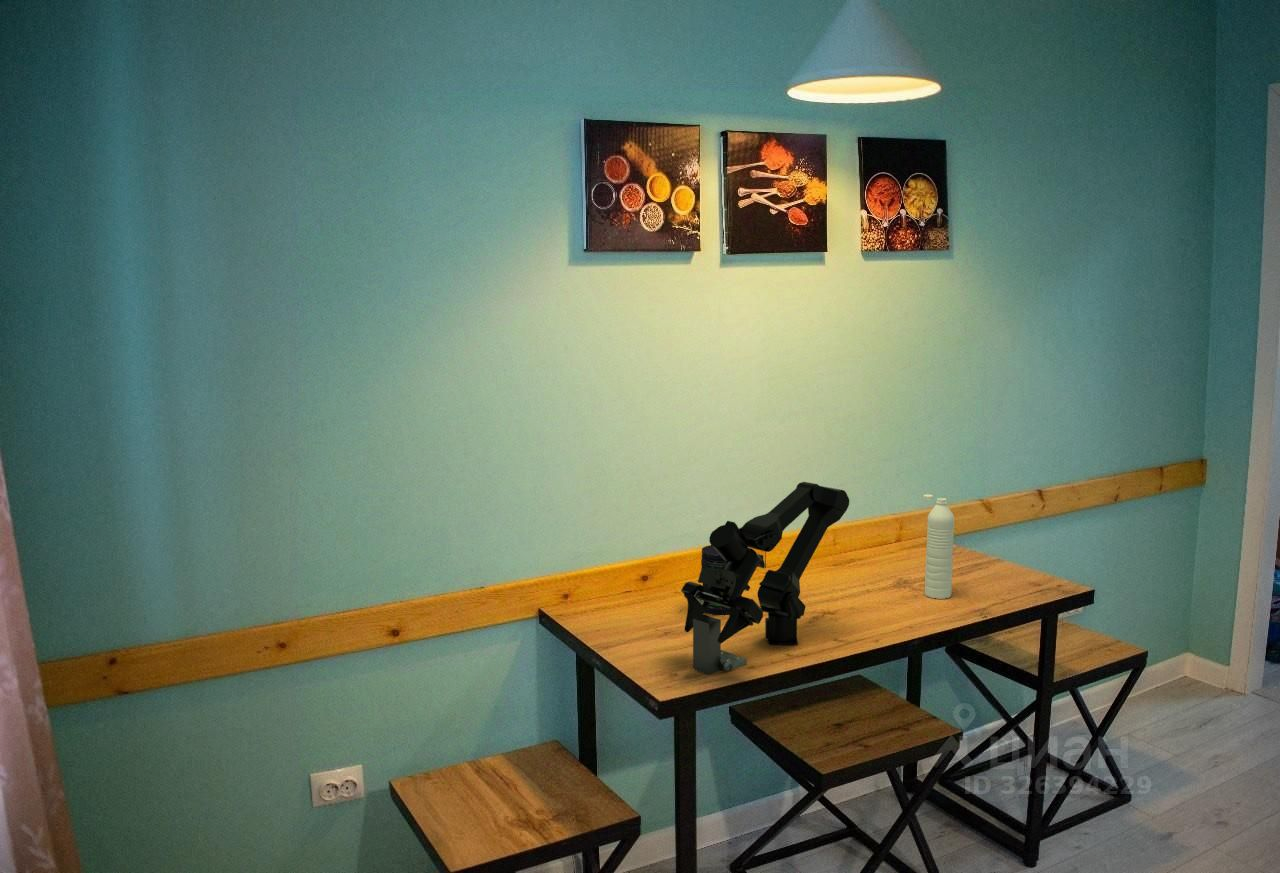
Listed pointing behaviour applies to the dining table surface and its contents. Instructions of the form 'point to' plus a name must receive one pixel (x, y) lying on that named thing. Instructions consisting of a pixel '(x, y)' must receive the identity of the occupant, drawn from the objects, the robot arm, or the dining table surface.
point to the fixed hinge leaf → (731, 661)
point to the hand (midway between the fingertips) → (702, 636)
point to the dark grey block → (706, 644)
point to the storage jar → (714, 563)
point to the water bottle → (939, 550)
